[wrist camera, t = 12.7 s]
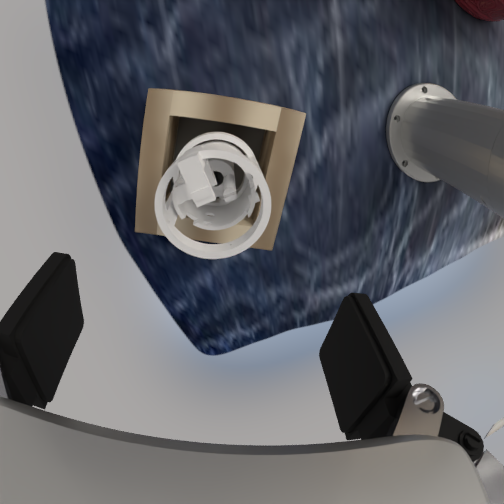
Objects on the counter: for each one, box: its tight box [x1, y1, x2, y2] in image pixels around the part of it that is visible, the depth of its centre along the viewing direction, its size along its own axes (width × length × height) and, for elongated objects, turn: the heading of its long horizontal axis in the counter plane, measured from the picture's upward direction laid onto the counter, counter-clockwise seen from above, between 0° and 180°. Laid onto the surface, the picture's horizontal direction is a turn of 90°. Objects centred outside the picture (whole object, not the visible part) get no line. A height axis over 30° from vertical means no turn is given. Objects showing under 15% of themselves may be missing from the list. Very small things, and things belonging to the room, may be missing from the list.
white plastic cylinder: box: [155, 132, 271, 259], centre depth 24 cm, size 7×7×15 cm
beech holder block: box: [135, 89, 306, 250], centre depth 28 cm, size 13×13×7 cm
